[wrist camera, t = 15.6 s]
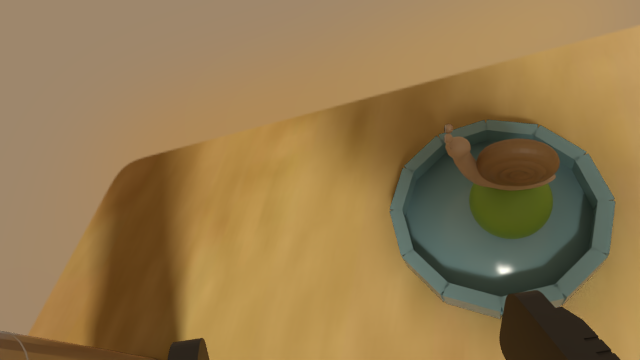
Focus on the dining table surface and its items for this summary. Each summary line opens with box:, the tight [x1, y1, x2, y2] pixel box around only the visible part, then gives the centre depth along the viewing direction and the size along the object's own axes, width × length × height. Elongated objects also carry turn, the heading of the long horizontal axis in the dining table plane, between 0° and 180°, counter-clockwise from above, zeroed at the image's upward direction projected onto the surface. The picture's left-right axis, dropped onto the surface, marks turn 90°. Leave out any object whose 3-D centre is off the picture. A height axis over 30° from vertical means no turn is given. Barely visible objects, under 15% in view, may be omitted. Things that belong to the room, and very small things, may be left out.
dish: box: [390, 120, 615, 319], centre depth 33 cm, size 15×15×2 cm
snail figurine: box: [444, 124, 560, 239], centre depth 28 cm, size 5×6×12 cm
